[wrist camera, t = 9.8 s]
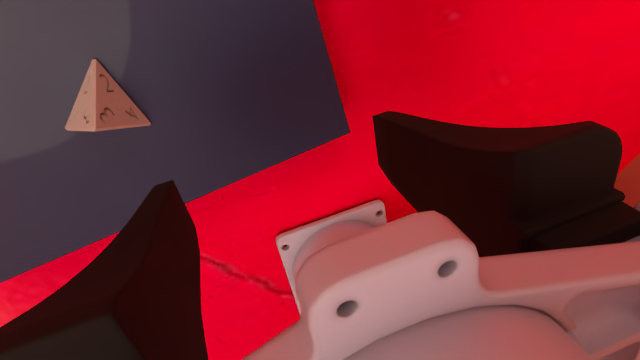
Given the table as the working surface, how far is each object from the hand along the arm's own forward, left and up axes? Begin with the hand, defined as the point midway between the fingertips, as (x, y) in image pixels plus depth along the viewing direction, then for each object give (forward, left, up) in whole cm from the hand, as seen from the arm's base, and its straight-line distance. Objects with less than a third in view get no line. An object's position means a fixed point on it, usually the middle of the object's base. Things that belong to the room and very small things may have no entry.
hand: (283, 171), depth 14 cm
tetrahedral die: (+2, +6, -7) cm, 9 cm away
